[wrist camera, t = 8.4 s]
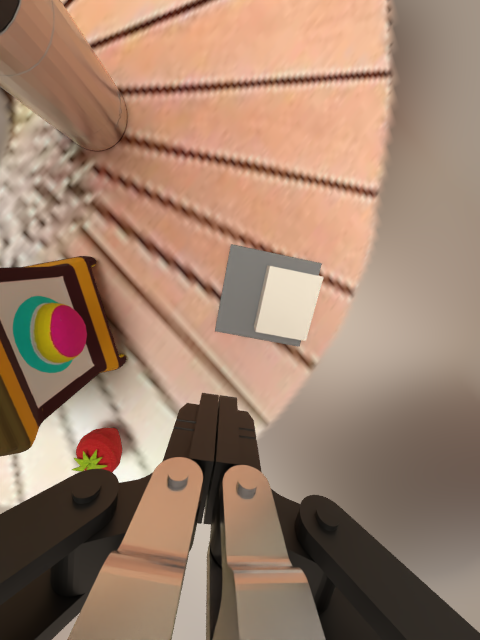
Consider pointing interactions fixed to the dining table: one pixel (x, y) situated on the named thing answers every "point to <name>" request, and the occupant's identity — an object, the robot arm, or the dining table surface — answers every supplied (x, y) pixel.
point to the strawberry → (99, 450)
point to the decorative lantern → (48, 343)
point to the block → (287, 303)
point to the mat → (252, 290)
